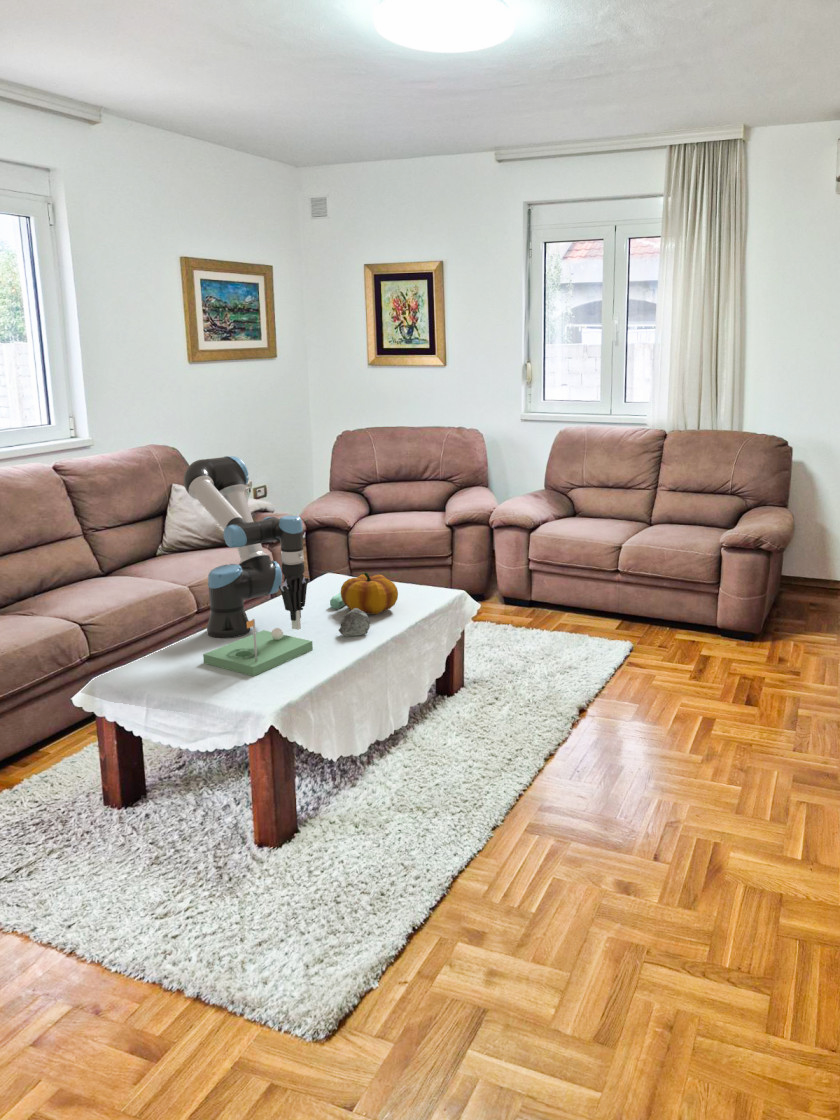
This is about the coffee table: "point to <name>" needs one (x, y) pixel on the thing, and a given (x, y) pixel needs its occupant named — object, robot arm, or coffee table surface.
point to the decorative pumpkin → (369, 593)
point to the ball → (277, 634)
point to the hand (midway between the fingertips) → (296, 628)
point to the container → (337, 602)
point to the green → (257, 652)
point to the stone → (354, 623)
